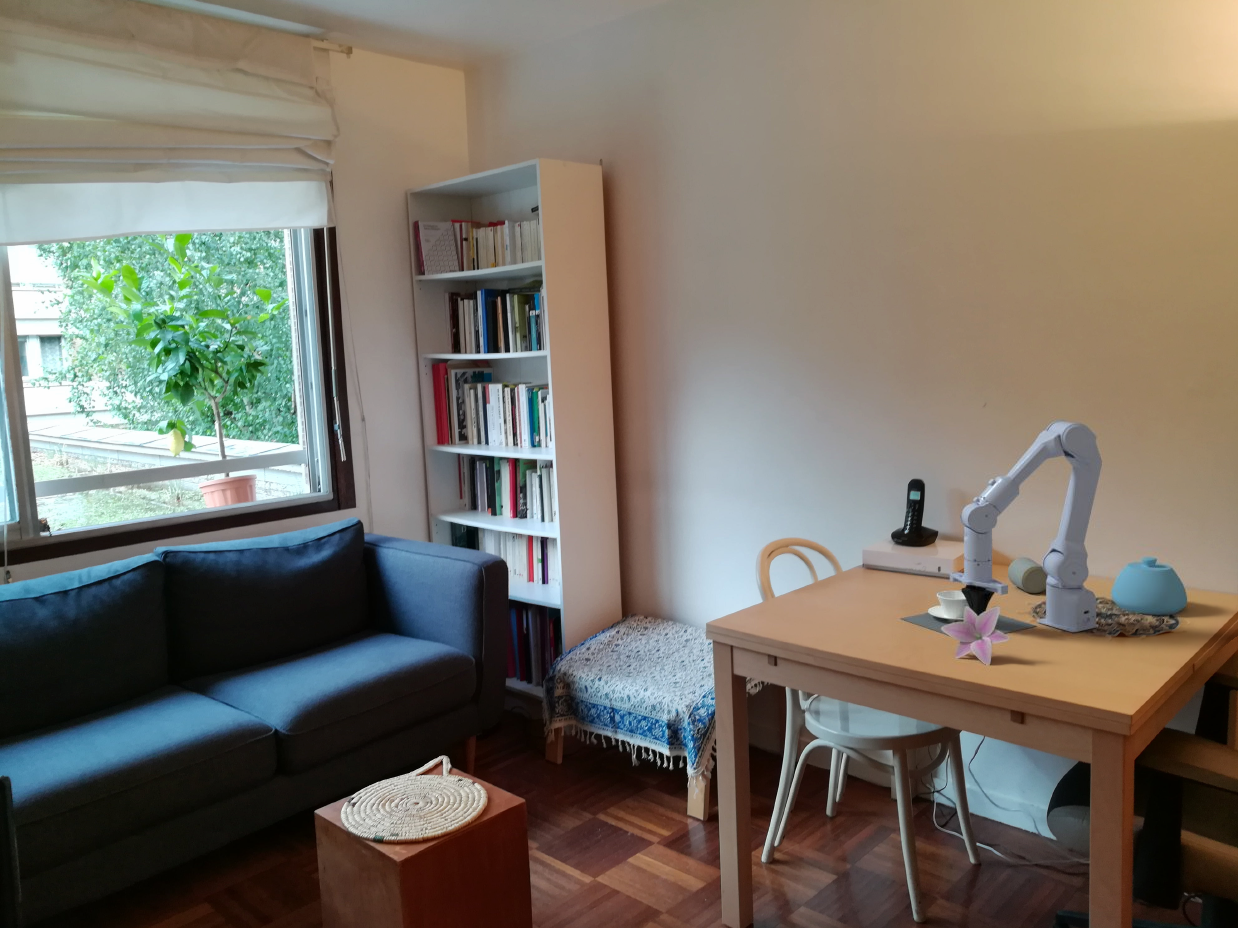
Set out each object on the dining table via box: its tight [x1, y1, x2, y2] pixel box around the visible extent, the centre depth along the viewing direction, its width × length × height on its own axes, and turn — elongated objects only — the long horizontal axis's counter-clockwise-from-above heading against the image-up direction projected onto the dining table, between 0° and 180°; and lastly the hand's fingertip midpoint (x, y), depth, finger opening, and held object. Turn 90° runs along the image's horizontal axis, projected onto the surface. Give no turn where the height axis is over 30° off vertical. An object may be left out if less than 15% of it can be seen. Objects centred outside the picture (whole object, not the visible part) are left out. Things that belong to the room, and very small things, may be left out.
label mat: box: [900, 612, 1037, 636], centre depth 204 cm, size 20×20×1 cm
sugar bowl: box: [1110, 556, 1188, 616], centre depth 209 cm, size 15×15×12 cm
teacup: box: [927, 590, 969, 621], centre depth 207 cm, size 12×12×5 cm
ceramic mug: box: [1007, 556, 1048, 594], centre depth 227 cm, size 11×8×8 cm
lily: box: [941, 605, 1011, 666], centre depth 181 cm, size 12×12×10 cm
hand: (978, 619), depth 201 cm, fingers closed
